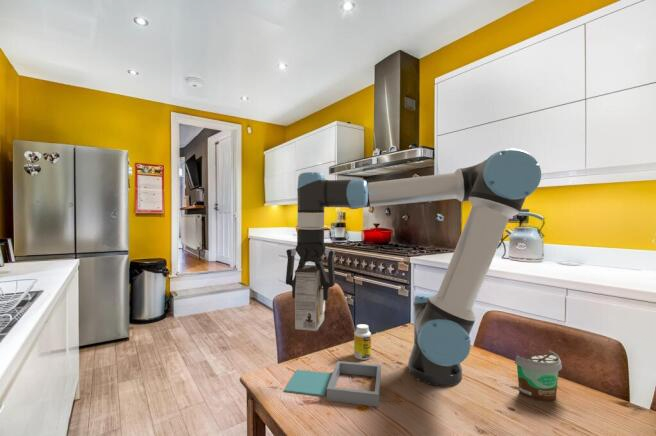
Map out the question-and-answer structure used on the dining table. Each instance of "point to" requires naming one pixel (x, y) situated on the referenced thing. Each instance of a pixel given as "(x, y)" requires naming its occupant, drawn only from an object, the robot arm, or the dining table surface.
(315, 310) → the coffee box
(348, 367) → the square frame
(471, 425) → the dining table surface
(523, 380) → the food container
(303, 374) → the mat
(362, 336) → the supplement bottle
